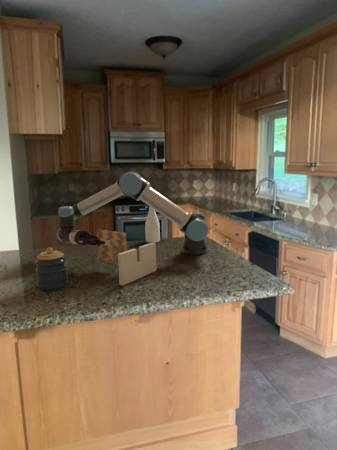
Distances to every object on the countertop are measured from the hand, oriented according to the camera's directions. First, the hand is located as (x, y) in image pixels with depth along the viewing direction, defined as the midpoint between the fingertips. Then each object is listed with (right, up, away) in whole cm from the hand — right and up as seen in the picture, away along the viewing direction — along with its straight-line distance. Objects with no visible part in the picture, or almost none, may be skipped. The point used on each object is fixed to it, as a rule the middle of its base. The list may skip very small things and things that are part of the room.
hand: (112, 242), depth 166 cm
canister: (-23, -19, -16) cm, 34 cm away
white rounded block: (+17, -3, +63) cm, 65 cm away
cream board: (+14, -16, -6) cm, 22 cm away
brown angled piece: (0, -8, +2) cm, 8 cm away
